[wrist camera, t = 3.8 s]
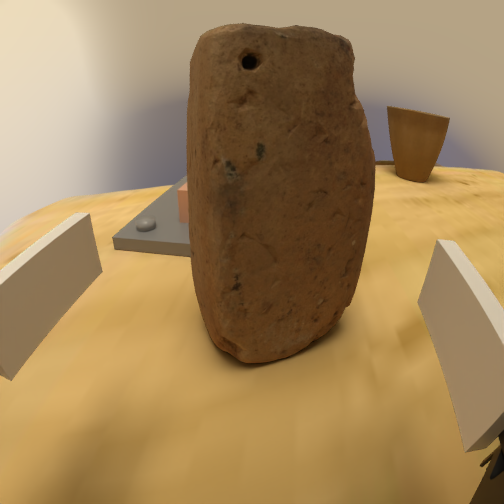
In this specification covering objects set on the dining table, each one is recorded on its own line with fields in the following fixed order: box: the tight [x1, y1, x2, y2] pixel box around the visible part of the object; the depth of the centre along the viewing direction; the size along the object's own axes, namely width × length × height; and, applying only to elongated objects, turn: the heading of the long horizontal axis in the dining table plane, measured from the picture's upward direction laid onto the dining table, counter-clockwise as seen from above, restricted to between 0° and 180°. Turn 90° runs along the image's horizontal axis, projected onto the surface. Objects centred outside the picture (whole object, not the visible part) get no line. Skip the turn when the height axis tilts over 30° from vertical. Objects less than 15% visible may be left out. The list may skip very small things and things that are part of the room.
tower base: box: [112, 175, 191, 257], centre depth 42 cm, size 26×26×6 cm
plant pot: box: [387, 106, 450, 182], centre depth 62 cm, size 15×15×16 cm
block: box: [187, 23, 375, 363], centre depth 19 cm, size 11×8×20 cm
